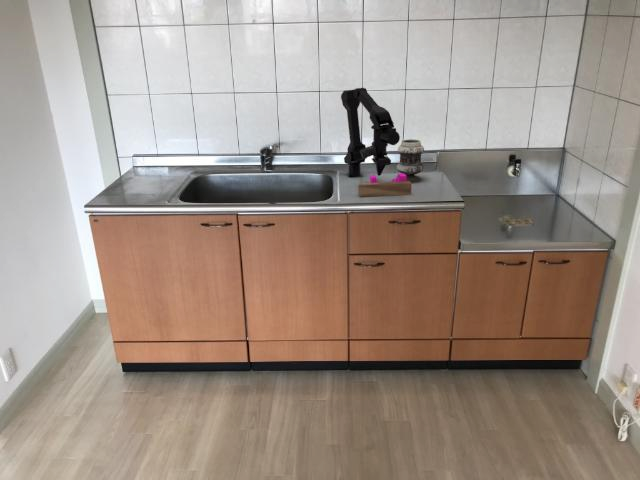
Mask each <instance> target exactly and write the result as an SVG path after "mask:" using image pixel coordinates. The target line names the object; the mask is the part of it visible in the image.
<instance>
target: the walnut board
mask: <svg viewBox="0 0 640 480" xmlns="http://www.w3.org/2000/svg"><path fill="white" fill-rule="evenodd" d="M379 182H380V181H379ZM357 193H358V197H359V198H367V197H369V198H370V197H371V198H372V197H385V196H387V197H388V196H401V195H402V196H404V195H405V196H406V195H412V182H410V181H400V182H390V181H386V182H385V181H383V182H382V181H381V182H380V183H370V182H367V183H366V182H363V183H358V191H357Z"/></svg>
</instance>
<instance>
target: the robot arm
mask: <svg viewBox="0 0 640 480" xmlns="http://www.w3.org/2000/svg"><path fill="white" fill-rule="evenodd" d="M340 99H341V101H342V102H341V103H342V106H343V107H344V109H345V110H346V116H347V125H348V134H349V135H348V136H349V143H348V146H347V153H346V154H345V155H344V158H343V161H344V164H347V165H348V172H346V174H347V176H348V177H349V178H357V177H358V178H360V177H363V174H362V172H361V170H362V169H361V166H362V165H361V163H362V164H363V163H366V159H367V158H370V157H372V158H371V160H372V162H373V163H374V164H375V169H376V174H377V176H378V177H380V176H381V175H382V174H383V171H384V169H385V168H386V166H390V165H392V160H391V158H390V157H389V156H388V152H387V147H389V145H390V146H396V145H397V144H398V143H399V142H400V139H401V136H400V134H399V132H398V131H397V128H396V127H395V125H394V121H393V119H392V116H391V114H390V112H389V111H388V109H386V108H385V107H382V106H380V105H378V103H377V102H376V101H375V100H374V99H373V97H372V95H370V93H368V89H367V88H365V87H356V88H354V89H347V90H343V91H342V93H341V95H340ZM360 104H361V105H362V106H363V107H364V109H365V110H366V111H367V112H368V113H369V120H370V122H371V123H372V125H371V127H370V128H371V130H373V141H372V142H371V145H369V146H366V144H364V143H363V142H362V140H361V130H360V121H359V111H358V108H360V107H359V106H361V105H360Z"/></svg>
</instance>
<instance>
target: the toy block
mask: <svg viewBox="0 0 640 480" xmlns="http://www.w3.org/2000/svg"><path fill="white" fill-rule="evenodd" d="M400 181H406V175H405V174H402V173H397V177H396V178H392V180H391V181H390V180H389V182H400ZM369 183H380V181H378V179H377V176H376V175H375V174H372V175H369Z"/></svg>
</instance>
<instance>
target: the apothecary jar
mask: <svg viewBox="0 0 640 480" xmlns="http://www.w3.org/2000/svg"><path fill="white" fill-rule="evenodd" d="M397 152H398V154H399V155H400V156H399V163H397V165H396V170H397V171H398V172H399V174H405V175H406V181H410V182H411V183H417V182H420V181H421V177H419V176H418V175H417V174H419V173H421V172H423V170H424V164H422V154H423V153H424V152H425V147H424V146H423V145H422V142H421V140H419V139H412V138H409V139H408V138H407V139H402V140H401V143H400V145H398V147H397Z"/></svg>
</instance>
